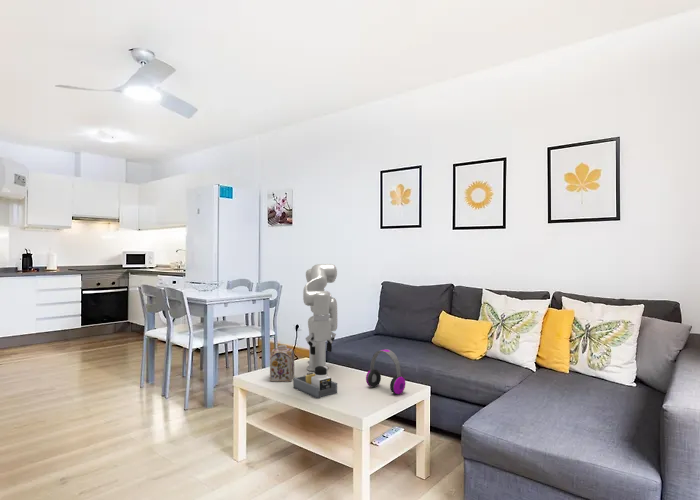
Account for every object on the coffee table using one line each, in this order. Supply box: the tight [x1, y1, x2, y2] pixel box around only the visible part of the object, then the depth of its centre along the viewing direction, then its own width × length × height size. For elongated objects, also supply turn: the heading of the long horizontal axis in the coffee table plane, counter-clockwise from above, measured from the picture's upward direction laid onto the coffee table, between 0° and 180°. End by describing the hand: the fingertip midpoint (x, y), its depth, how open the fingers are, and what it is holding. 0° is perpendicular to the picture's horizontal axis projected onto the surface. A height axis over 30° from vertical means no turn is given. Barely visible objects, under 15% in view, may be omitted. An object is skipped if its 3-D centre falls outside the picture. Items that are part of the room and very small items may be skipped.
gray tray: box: [292, 375, 338, 399], centre depth 213 cm, size 21×12×5 cm, turn 39°
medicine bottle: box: [311, 366, 332, 391], centre depth 209 cm, size 7×7×12 cm
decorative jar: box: [269, 344, 295, 383], centre depth 234 cm, size 12×12×18 cm
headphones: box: [365, 348, 407, 395], centre depth 214 cm, size 21×9×20 cm, turn 45°
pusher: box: [305, 371, 315, 384], centre depth 215 cm, size 5×9×7 cm, turn 129°
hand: (321, 352), depth 209 cm, fingers open, 9 cm apart
